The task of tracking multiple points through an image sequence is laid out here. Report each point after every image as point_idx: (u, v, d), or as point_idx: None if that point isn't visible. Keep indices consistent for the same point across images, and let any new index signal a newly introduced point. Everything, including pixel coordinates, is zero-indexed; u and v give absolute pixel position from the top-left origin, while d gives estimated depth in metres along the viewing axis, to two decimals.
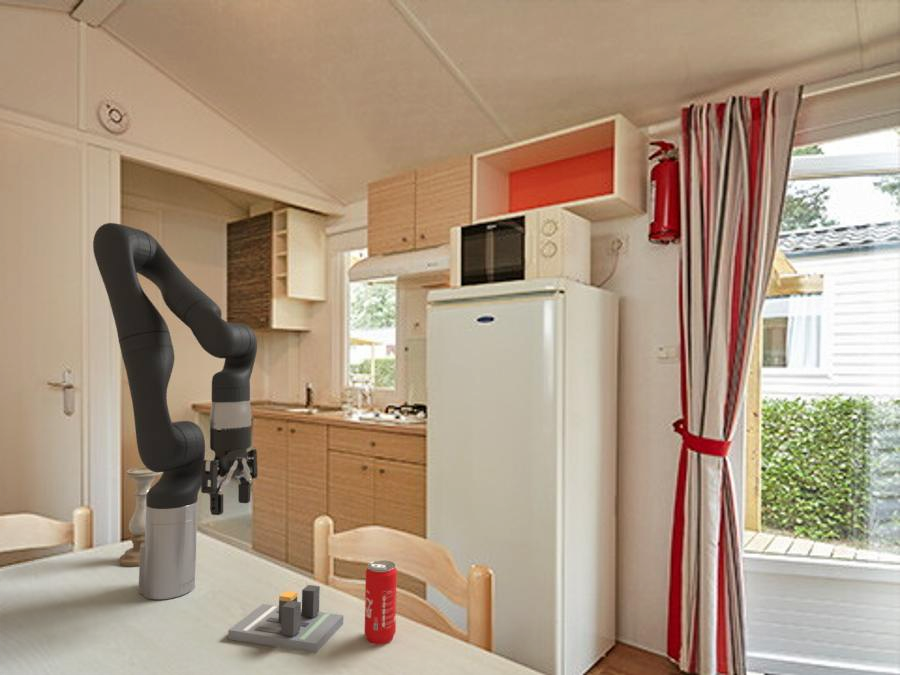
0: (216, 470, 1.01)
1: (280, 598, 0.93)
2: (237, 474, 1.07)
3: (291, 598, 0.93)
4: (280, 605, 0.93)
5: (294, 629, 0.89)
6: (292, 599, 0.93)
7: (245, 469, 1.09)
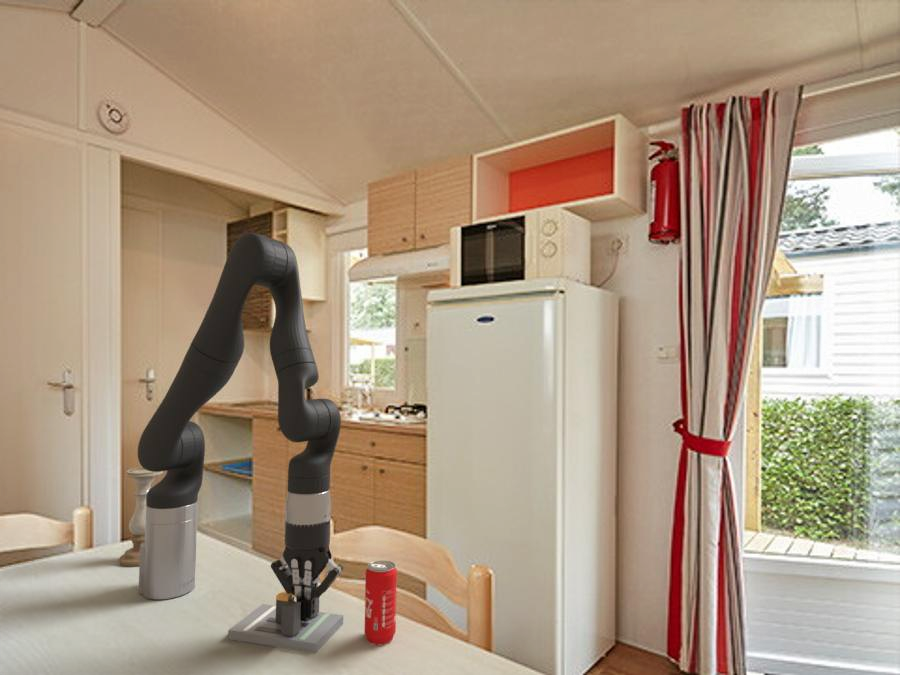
0: None
1: (277, 598, 0.93)
2: None
3: (288, 598, 0.93)
4: (277, 605, 0.93)
5: (294, 629, 0.89)
6: (289, 599, 0.93)
7: None
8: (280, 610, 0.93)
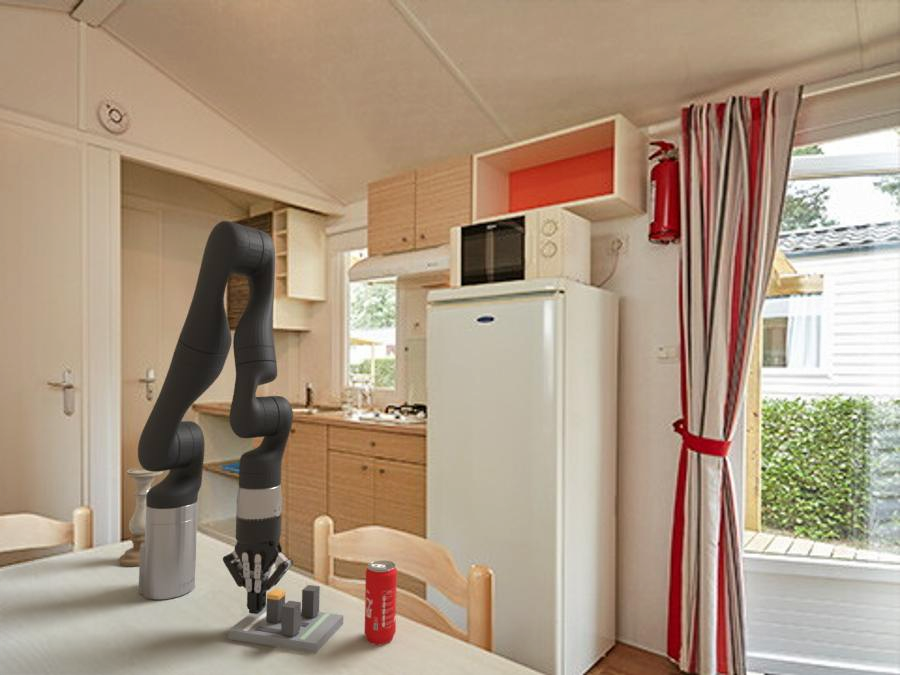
0: None
1: (268, 596, 0.94)
2: None
3: (279, 596, 0.94)
4: (268, 603, 0.94)
5: (294, 629, 0.89)
6: (280, 597, 0.94)
7: None
8: (271, 609, 0.94)
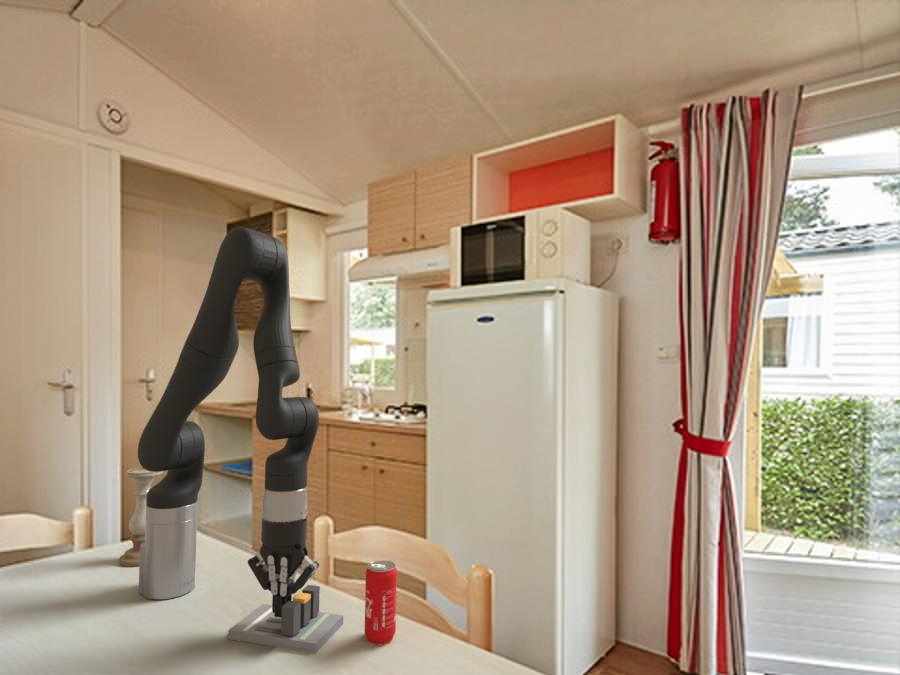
0: None
1: (294, 600, 0.93)
2: None
3: (305, 600, 0.92)
4: None
5: (294, 629, 0.89)
6: (306, 601, 0.93)
7: None
8: None
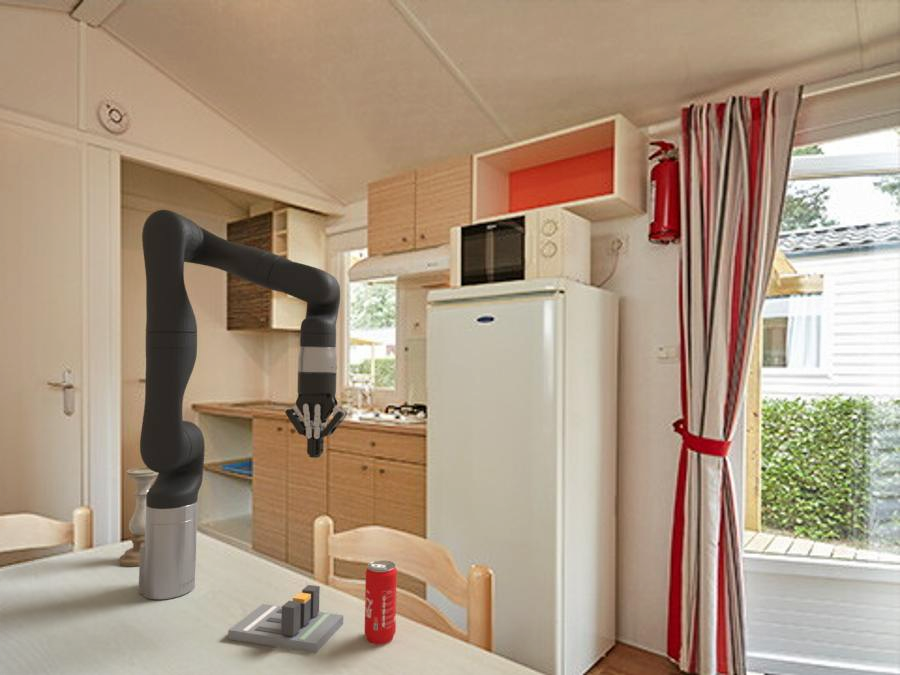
0: None
1: (294, 600, 0.93)
2: None
3: (305, 600, 0.92)
4: None
5: (294, 629, 0.89)
6: (306, 601, 0.93)
7: None
8: None
